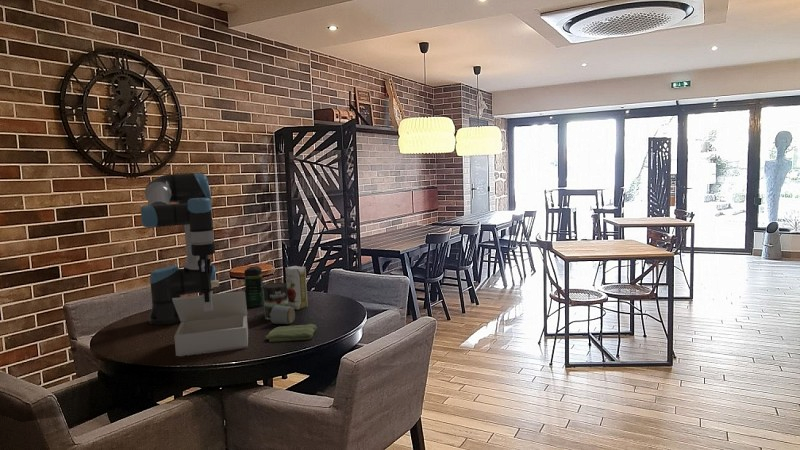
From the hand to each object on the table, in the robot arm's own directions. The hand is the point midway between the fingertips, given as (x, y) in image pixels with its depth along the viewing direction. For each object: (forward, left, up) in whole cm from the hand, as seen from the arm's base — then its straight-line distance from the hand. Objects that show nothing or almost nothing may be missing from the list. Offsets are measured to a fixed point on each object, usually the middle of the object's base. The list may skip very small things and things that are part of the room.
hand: (208, 310), depth 179 cm
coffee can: (-41, +24, -16) cm, 50 cm away
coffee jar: (-66, +15, -16) cm, 69 cm away
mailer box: (-12, 0, -16) cm, 20 cm away
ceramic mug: (-30, +27, -16) cm, 43 cm away
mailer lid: (-14, 0, -2) cm, 14 cm away
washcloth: (-11, +28, -17) cm, 35 cm away
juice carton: (-53, +34, -16) cm, 65 cm away
